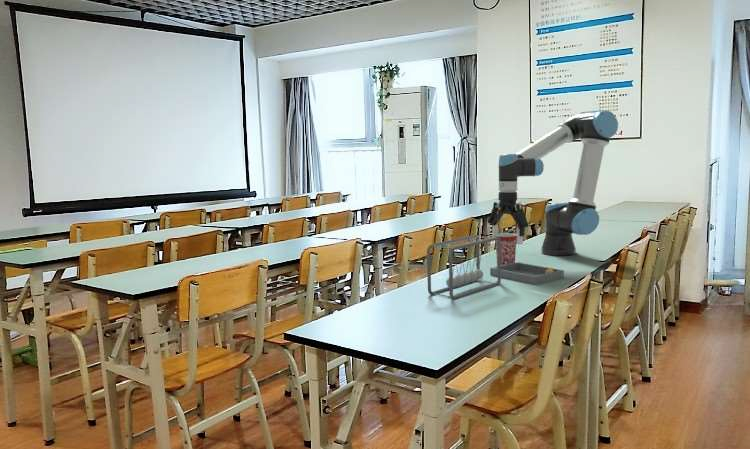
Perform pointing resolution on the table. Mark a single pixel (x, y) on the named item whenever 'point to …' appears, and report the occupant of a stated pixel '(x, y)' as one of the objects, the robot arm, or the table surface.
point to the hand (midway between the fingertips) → (507, 242)
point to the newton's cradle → (465, 277)
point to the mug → (506, 248)
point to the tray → (527, 273)
